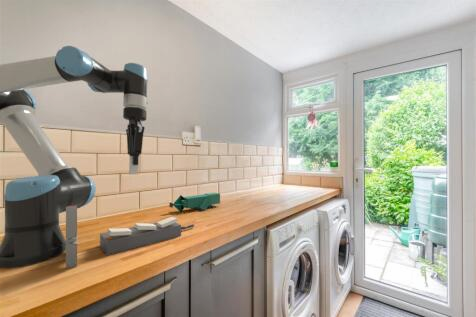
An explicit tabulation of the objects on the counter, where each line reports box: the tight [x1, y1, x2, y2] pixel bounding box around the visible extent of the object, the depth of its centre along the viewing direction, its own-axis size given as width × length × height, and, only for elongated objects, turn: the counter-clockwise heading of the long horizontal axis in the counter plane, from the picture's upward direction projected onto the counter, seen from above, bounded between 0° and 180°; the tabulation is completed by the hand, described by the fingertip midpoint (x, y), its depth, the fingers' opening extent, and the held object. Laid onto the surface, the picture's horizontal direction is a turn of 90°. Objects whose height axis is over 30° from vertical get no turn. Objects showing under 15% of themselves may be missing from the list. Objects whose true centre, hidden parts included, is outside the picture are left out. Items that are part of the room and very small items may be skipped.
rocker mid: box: [133, 222, 157, 230], centre depth 74 cm, size 6×4×1 cm, turn 132°
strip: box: [99, 221, 195, 256], centre depth 78 cm, size 32×10×4 cm, turn 133°
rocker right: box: [157, 216, 178, 228], centre depth 79 cm, size 6×4×1 cm, turn 133°
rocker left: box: [106, 227, 132, 236], centre depth 68 cm, size 6×4×1 cm, turn 133°
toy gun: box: [65, 205, 78, 270], centre depth 61 cm, size 2×16×15 cm
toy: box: [169, 191, 221, 213], centre depth 123 cm, size 12×10×30 cm
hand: (133, 174), depth 77 cm, fingers closed
